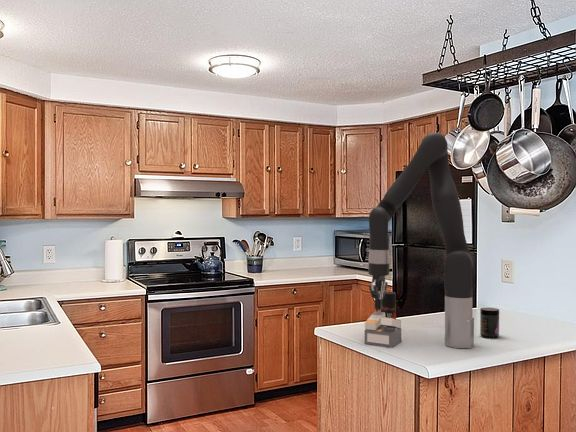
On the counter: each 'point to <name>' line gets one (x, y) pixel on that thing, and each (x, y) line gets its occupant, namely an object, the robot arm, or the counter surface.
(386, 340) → the grey box
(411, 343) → the counter surface
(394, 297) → the deodorant
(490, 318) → the supplement container
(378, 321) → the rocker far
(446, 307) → the robot arm
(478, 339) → the counter surface
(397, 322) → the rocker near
